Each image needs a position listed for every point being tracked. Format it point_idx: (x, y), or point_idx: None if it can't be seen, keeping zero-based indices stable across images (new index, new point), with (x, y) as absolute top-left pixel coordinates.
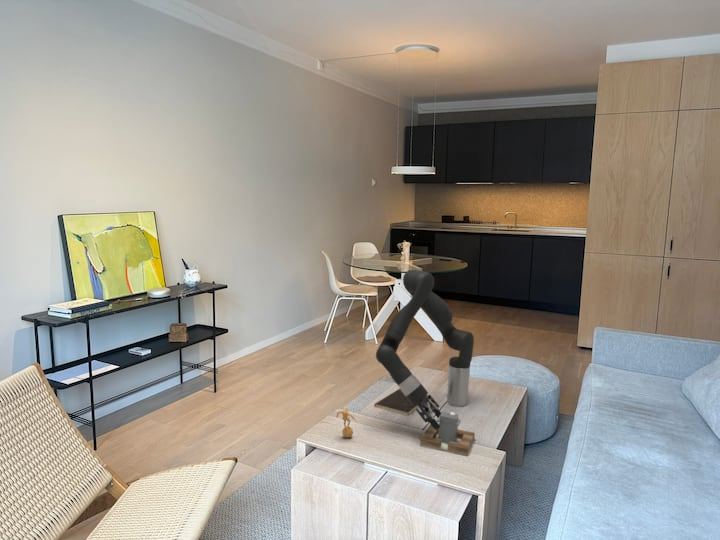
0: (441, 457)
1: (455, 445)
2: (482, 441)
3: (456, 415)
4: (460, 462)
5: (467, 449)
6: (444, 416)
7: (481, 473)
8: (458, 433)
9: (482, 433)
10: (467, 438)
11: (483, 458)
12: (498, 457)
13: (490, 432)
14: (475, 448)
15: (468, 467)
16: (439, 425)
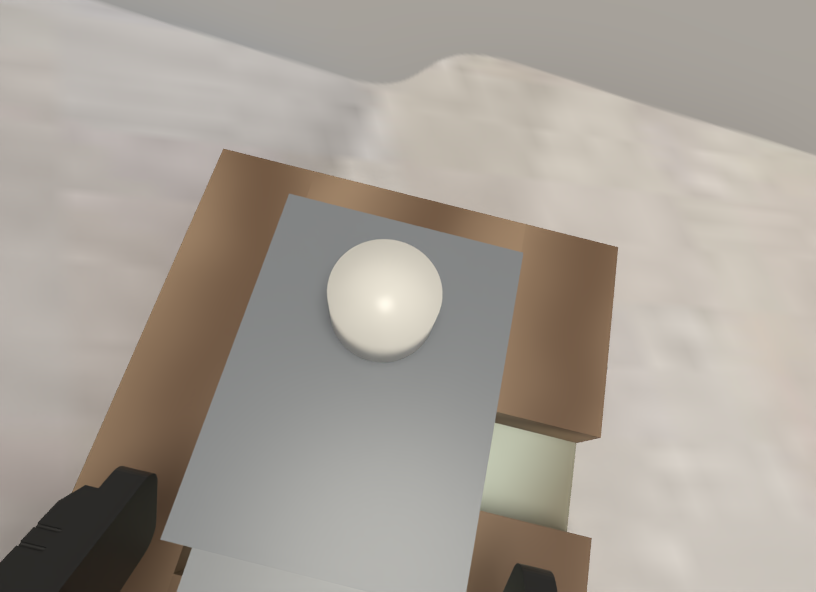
0: (702, 503)
1: (585, 354)
2: (272, 130)
3: (352, 235)
4: (719, 334)
5: (612, 249)
6: (476, 491)
7: (812, 200)
8: None
9: (100, 109)
10: None
11: (579, 161)
12: (526, 66)
13: (74, 49)
14: (423, 197)
15: (771, 279)
16: (533, 578)
